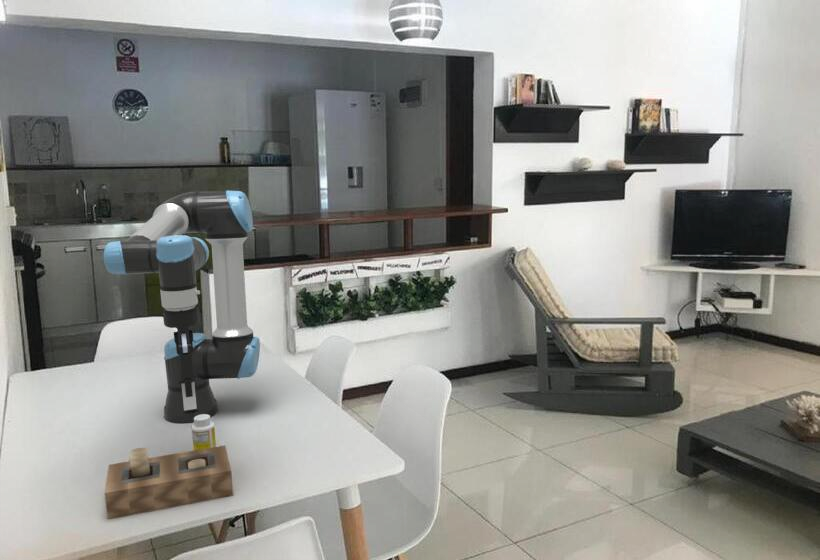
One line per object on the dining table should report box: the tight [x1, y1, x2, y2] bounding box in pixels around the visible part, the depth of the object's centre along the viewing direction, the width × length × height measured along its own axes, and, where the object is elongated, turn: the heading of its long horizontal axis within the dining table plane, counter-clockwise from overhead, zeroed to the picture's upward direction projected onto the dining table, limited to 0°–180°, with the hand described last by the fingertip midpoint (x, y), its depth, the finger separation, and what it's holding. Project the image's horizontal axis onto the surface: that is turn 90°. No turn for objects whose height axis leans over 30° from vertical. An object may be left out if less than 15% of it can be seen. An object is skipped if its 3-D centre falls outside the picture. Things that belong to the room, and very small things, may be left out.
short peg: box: [188, 459, 206, 469], centre depth 158 cm, size 4×4×6 cm
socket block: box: [104, 445, 234, 520], centre depth 156 cm, size 26×14×6 cm, turn 110°
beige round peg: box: [128, 447, 150, 479], centre depth 153 cm, size 4×4×6 cm
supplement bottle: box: [191, 414, 217, 451], centre depth 174 cm, size 6×6×10 cm
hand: (190, 408), depth 154 cm, fingers closed
